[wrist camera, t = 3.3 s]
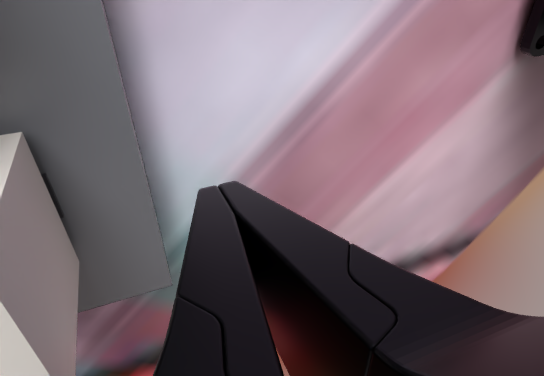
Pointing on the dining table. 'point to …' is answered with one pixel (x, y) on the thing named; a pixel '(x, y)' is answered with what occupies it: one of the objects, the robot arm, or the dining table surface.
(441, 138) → the dining table surface
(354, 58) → the dining table surface
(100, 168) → the switch panel
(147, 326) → the dining table surface
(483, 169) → the dining table surface
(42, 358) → the tab
